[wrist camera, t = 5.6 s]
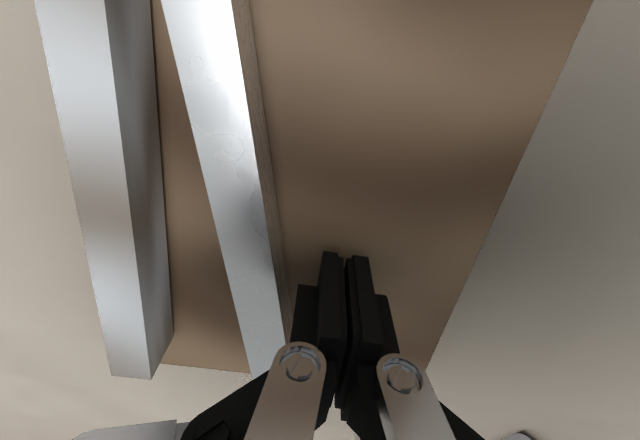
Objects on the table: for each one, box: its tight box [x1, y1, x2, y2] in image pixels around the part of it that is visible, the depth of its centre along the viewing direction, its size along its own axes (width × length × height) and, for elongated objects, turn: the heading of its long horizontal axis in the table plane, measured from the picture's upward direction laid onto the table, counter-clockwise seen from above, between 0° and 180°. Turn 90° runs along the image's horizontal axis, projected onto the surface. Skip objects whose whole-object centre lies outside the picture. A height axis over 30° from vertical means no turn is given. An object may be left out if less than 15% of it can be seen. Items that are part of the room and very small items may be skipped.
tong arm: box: [161, 0, 293, 380], centre depth 9 cm, size 17×3×2 cm, turn 4°
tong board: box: [34, 0, 593, 380], centre depth 10 cm, size 22×14×4 cm, turn 171°
